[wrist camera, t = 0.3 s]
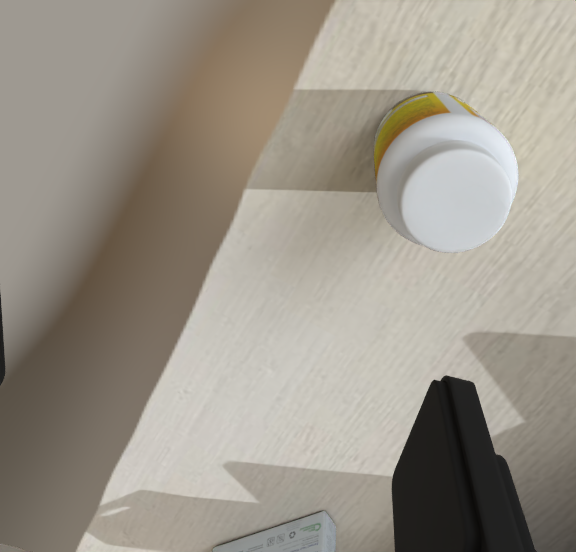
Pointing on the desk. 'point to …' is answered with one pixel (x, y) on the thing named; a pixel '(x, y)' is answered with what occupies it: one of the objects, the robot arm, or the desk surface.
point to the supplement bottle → (443, 173)
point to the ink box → (289, 537)
